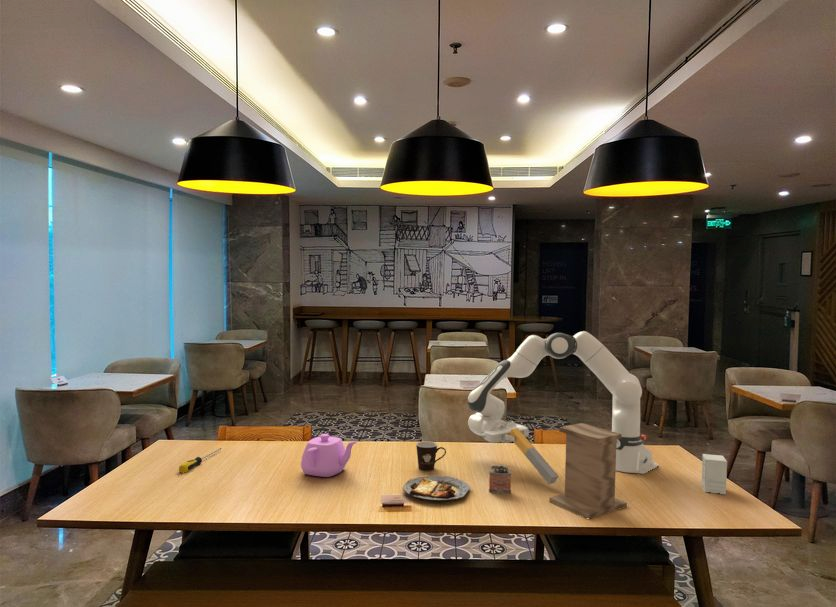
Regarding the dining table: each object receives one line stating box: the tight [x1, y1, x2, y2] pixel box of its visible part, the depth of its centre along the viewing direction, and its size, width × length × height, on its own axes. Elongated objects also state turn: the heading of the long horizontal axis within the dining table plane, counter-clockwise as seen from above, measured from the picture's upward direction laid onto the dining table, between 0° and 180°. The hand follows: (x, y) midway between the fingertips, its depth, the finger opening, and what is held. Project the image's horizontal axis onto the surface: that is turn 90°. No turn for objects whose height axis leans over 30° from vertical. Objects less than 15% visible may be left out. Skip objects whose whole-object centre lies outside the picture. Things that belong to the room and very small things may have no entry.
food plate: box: [402, 474, 471, 502], centre depth 205 cm, size 25×23×4 cm
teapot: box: [300, 433, 358, 478], centre depth 222 cm, size 23×21×15 cm
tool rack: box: [549, 422, 628, 519], centre depth 196 cm, size 20×17×26 cm
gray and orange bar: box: [509, 428, 560, 485], centre depth 219 cm, size 3×26×3 cm, turn 33°
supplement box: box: [701, 453, 728, 495], centre depth 211 cm, size 7×7×13 cm
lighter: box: [488, 464, 512, 495], centre depth 206 cm, size 8×3×10 cm, turn 84°
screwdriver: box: [178, 447, 222, 474], centre depth 235 cm, size 3×3×30 cm
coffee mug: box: [415, 440, 447, 472], centre depth 230 cm, size 12×9×10 cm
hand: (519, 438), depth 225 cm, fingers closed on gray and orange bar, 3 cm apart
